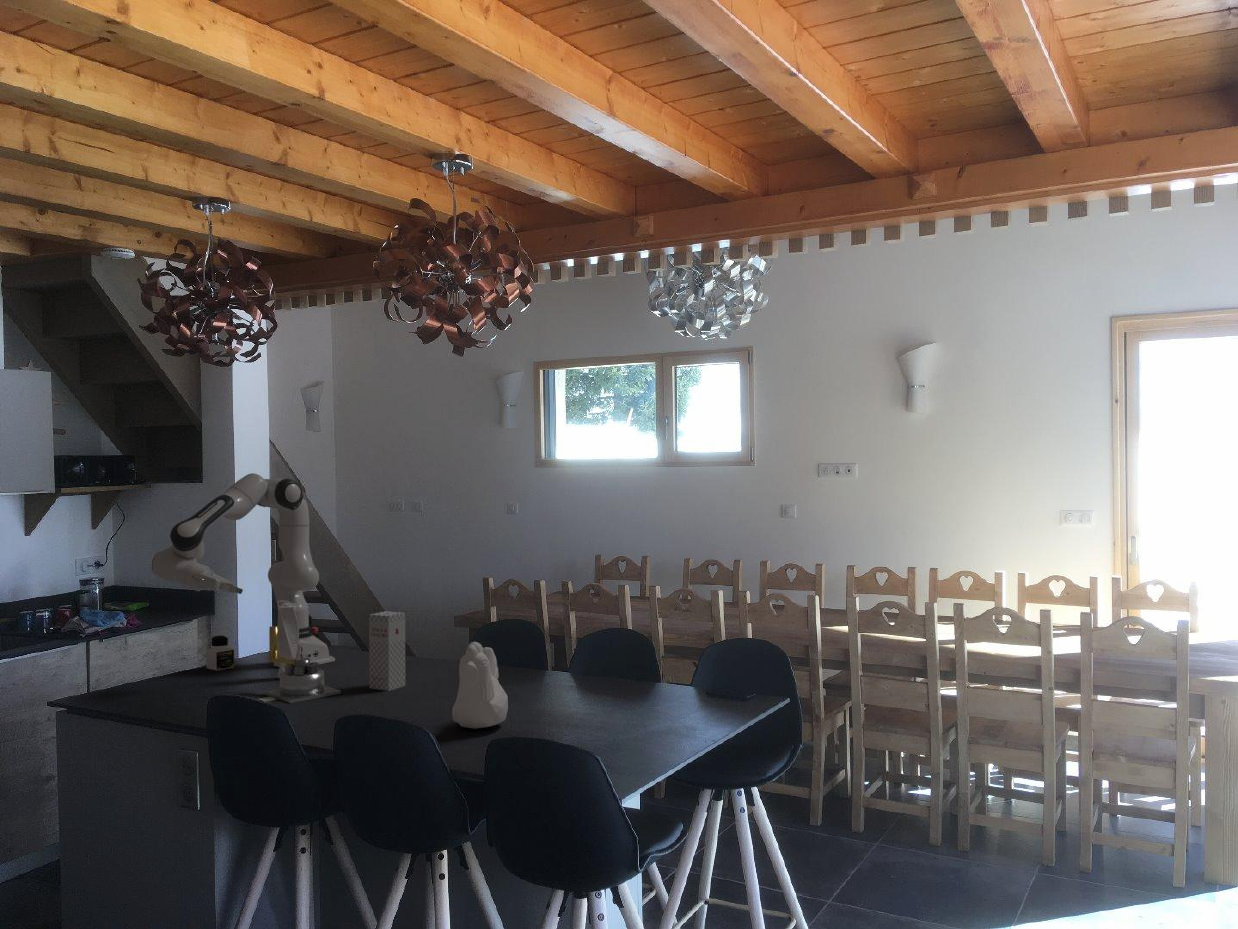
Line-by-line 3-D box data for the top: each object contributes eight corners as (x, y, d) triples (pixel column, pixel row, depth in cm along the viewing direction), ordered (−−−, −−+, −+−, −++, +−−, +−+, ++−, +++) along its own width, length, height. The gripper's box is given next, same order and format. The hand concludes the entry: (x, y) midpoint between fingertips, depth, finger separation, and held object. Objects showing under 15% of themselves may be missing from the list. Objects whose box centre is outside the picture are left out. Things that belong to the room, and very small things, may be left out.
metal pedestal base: (313, 685, 337) (313, 665, 337) (340, 693, 325) (340, 672, 325) (263, 694, 324) (263, 673, 324) (290, 703, 312) (290, 681, 312)
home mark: (269, 698, 319) (269, 696, 319) (276, 700, 316) (276, 699, 316) (256, 700, 316) (256, 699, 316) (263, 702, 313) (263, 701, 313)
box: (405, 685, 336) (405, 612, 336) (388, 690, 328) (388, 616, 328) (386, 683, 340) (386, 611, 340) (369, 688, 332) (369, 614, 332)
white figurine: (489, 737, 272) (489, 647, 272) (440, 732, 277) (439, 644, 277) (529, 715, 295) (528, 633, 295) (482, 711, 301) (482, 630, 301)
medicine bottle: (216, 671, 361) (216, 638, 361) (206, 668, 366) (206, 636, 366) (234, 667, 367) (234, 635, 367) (223, 665, 371) (223, 633, 371)
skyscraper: (285, 681, 343) (284, 601, 343) (271, 678, 348) (271, 599, 348) (305, 677, 350) (305, 599, 350) (292, 674, 355) (292, 597, 355)
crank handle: (324, 670, 327) (324, 627, 327) (303, 676, 318) (303, 632, 318) (281, 665, 334) (281, 624, 334) (259, 671, 325) (259, 628, 325)
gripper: (194, 566, 324) (234, 580, 325) (211, 570, 344) (249, 584, 344) (186, 584, 322) (226, 599, 323) (203, 587, 342) (241, 601, 343)
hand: (238, 591), depth 334 cm, fingers open, 8 cm apart
